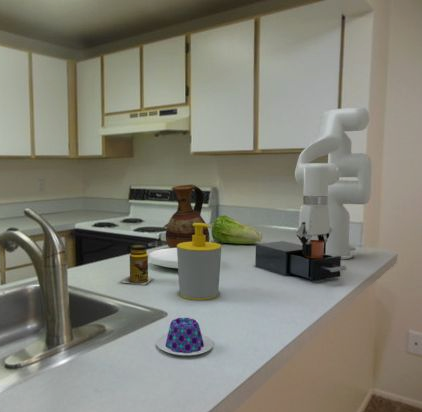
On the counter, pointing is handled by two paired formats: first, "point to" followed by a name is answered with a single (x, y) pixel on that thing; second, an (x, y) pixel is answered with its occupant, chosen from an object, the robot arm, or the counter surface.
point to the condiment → (138, 266)
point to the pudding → (184, 338)
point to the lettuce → (234, 232)
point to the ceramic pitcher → (185, 216)
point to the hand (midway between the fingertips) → (313, 253)
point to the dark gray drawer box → (275, 256)
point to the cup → (316, 249)
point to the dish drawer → (314, 266)
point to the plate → (164, 257)
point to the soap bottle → (199, 266)
